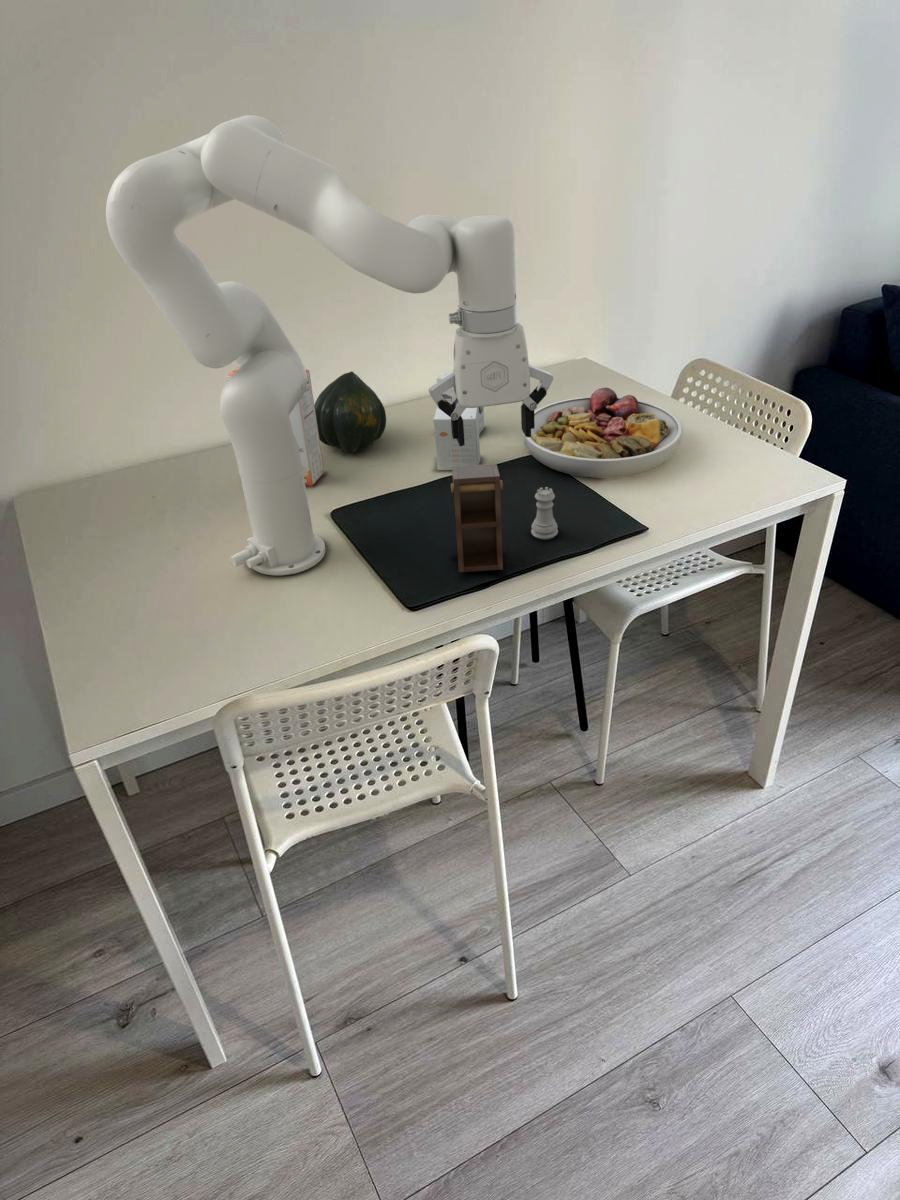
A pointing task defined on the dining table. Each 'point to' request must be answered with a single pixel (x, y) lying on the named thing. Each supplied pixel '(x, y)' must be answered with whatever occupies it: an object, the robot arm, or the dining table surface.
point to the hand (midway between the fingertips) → (493, 438)
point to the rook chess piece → (544, 516)
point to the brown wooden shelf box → (478, 517)
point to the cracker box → (305, 434)
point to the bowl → (603, 435)
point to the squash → (349, 414)
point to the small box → (448, 447)
